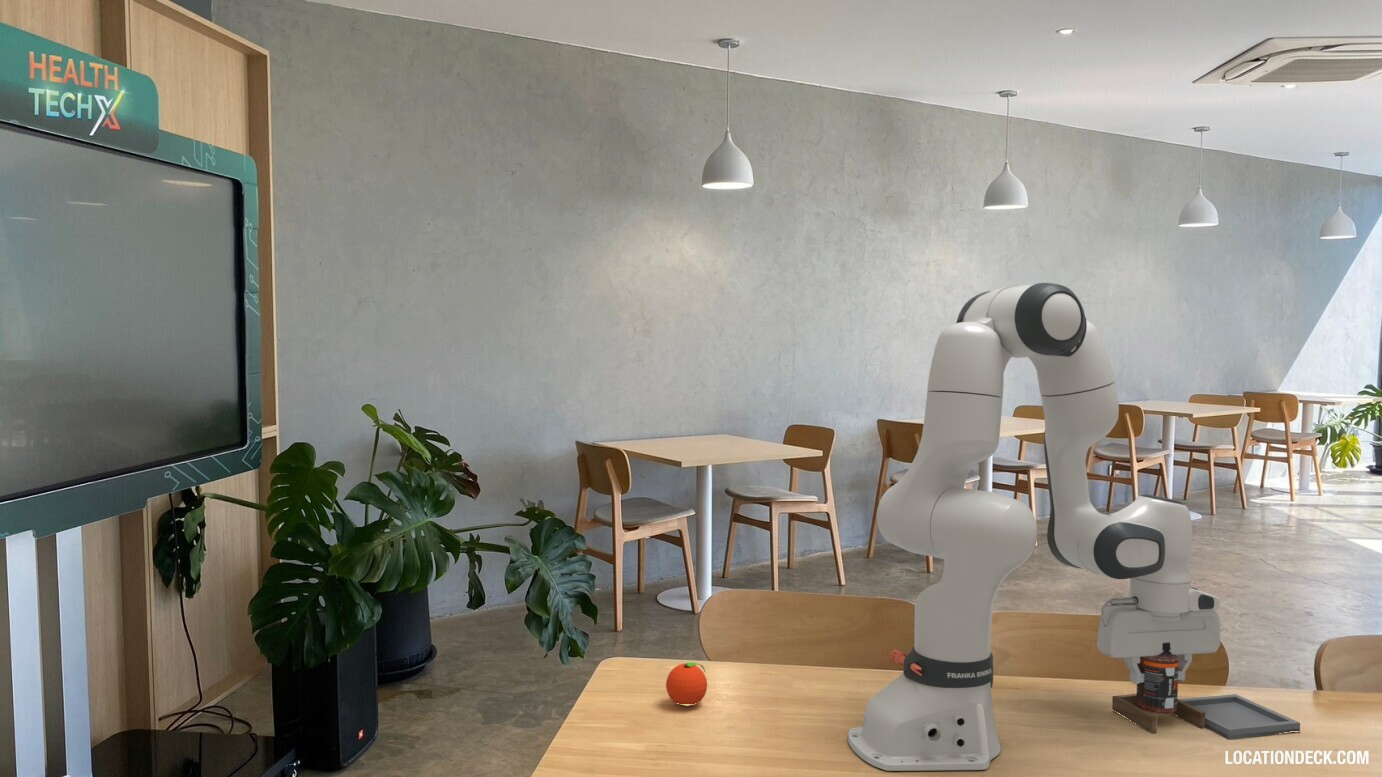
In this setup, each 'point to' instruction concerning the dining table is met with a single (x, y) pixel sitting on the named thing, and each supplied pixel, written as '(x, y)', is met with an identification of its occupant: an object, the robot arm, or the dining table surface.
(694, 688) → the clementine
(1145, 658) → the supplement bottle
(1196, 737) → the dining table surface
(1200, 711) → the frame
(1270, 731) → the tray
